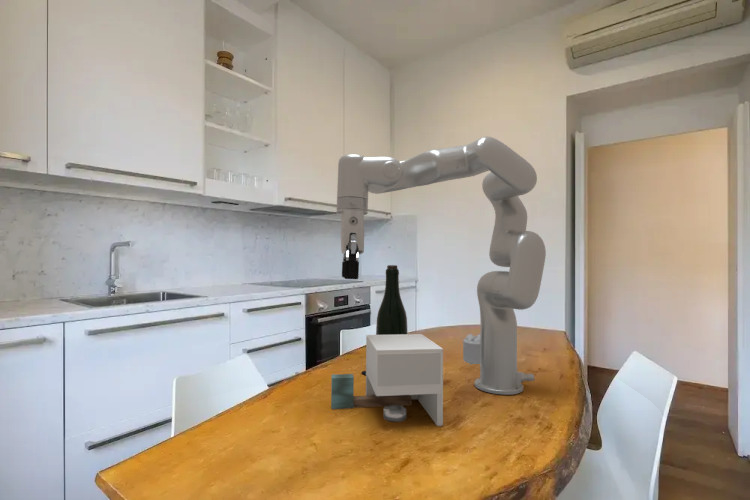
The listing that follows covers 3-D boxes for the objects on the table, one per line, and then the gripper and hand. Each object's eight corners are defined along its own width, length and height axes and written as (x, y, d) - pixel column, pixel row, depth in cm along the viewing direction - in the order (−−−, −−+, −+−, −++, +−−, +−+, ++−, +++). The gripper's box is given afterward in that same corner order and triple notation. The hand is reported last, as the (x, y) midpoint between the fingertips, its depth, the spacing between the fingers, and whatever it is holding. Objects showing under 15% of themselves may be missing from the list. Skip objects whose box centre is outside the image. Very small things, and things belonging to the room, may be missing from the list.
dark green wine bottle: (413, 366, 127) (413, 265, 128) (397, 373, 118) (398, 265, 120) (385, 361, 133) (386, 264, 134) (369, 368, 124) (370, 264, 125)
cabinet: (421, 397, 97) (421, 334, 98) (443, 425, 80) (443, 348, 81) (365, 399, 95) (366, 335, 96) (376, 429, 78) (376, 350, 79)
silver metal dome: (403, 413, 87) (403, 404, 87) (408, 422, 82) (408, 412, 83) (381, 414, 87) (381, 405, 87) (385, 423, 82) (385, 414, 82)
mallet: (408, 401, 95) (408, 372, 95) (411, 405, 92) (411, 375, 92) (331, 404, 92) (331, 374, 92) (331, 409, 89) (332, 378, 89)
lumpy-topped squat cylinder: (501, 360, 136) (501, 335, 136) (482, 367, 127) (482, 340, 127) (475, 355, 144) (475, 331, 144) (455, 361, 134) (455, 336, 135)
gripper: (372, 202, 86) (369, 280, 85) (363, 212, 103) (361, 277, 102) (338, 200, 85) (335, 279, 84) (335, 211, 102) (332, 276, 101)
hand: (349, 278), depth 93 cm, fingers open, 9 cm apart
